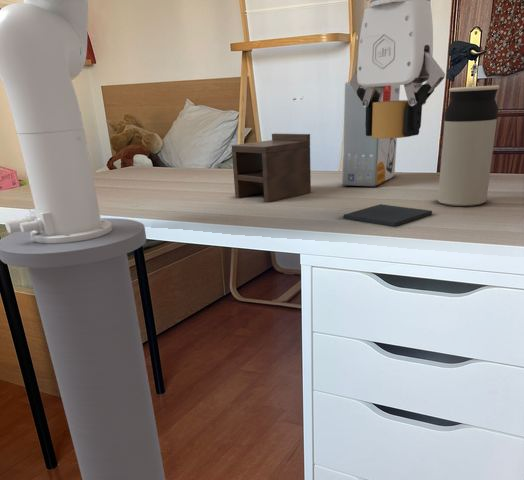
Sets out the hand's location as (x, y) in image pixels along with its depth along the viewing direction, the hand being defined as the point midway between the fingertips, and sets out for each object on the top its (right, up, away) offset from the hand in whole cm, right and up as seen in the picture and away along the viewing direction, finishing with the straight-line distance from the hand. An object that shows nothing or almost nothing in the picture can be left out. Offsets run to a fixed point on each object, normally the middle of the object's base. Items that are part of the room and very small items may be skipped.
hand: (391, 134), depth 79 cm
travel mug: (+15, -7, +12) cm, 21 cm away
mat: (+1, -11, +5) cm, 12 cm away
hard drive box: (+4, +5, +38) cm, 38 cm away
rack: (-17, -1, +29) cm, 34 cm away
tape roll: (0, 0, 0) cm, 0 cm away
